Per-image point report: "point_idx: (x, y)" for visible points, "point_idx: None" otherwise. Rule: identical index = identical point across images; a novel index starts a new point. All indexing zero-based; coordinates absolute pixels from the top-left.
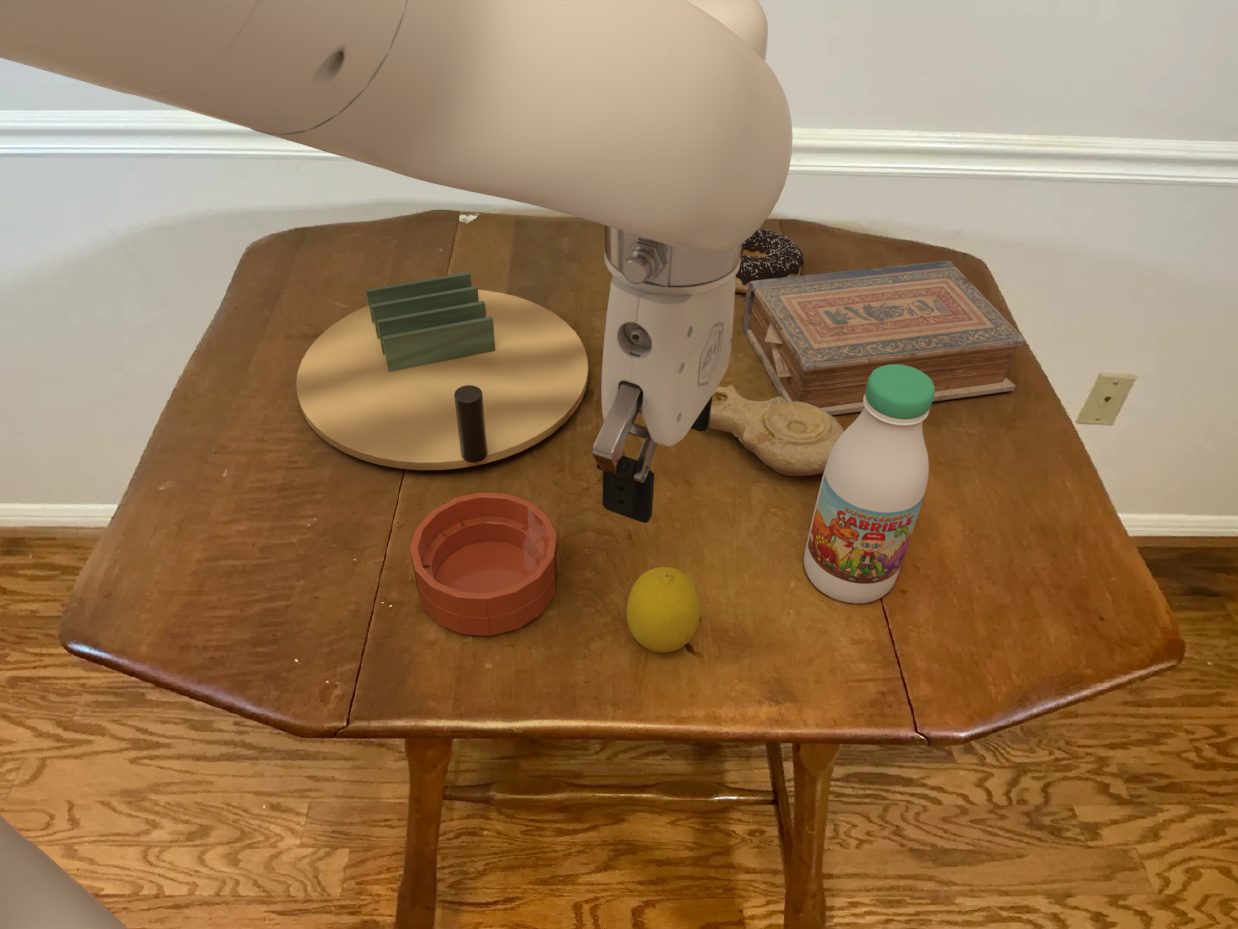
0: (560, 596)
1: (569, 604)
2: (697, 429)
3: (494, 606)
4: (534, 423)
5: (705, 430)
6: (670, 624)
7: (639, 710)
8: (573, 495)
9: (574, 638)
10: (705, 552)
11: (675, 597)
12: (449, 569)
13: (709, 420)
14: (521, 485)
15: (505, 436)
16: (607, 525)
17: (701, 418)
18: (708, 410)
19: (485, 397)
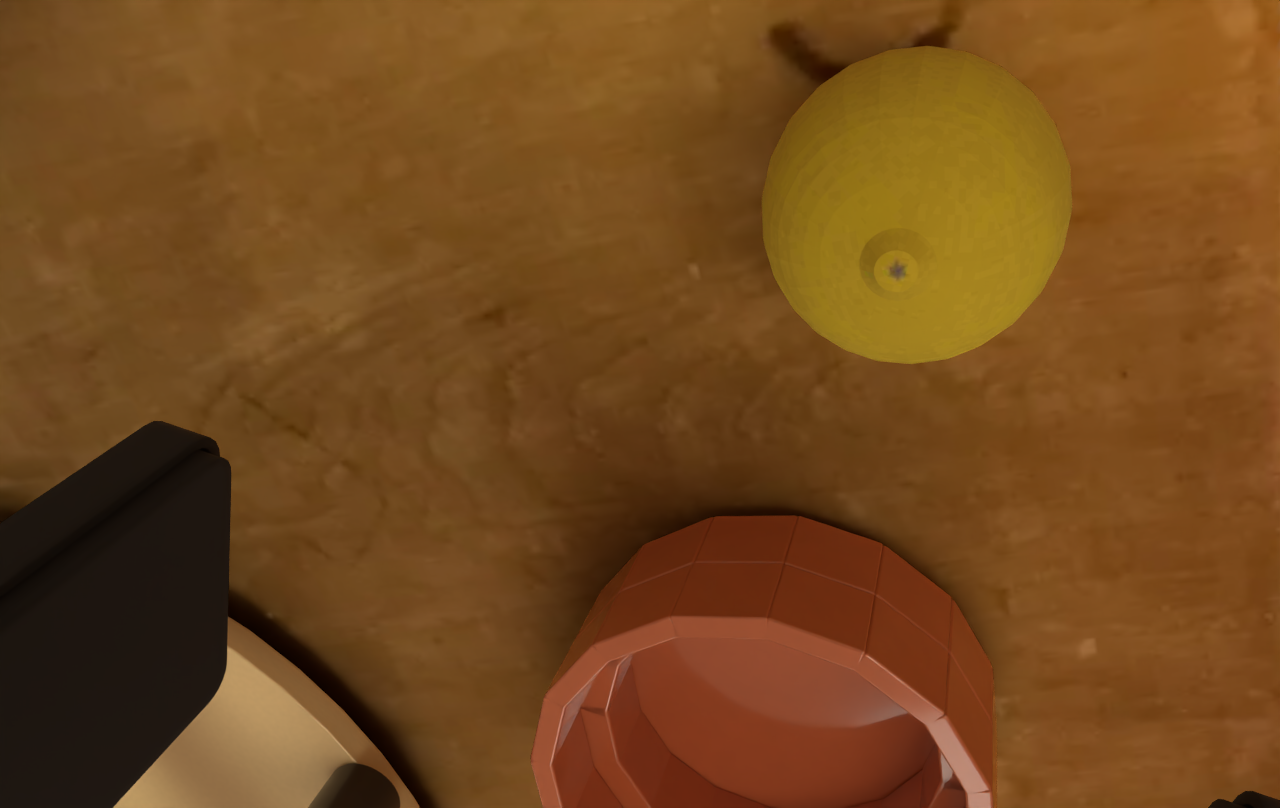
0: (786, 489)
1: (812, 461)
2: (224, 494)
3: (982, 739)
4: None
5: (209, 438)
6: (1059, 186)
7: (1236, 186)
8: (388, 499)
9: (947, 430)
10: (479, 50)
11: (977, 204)
12: (766, 781)
13: (121, 446)
14: (404, 635)
15: (271, 725)
16: (469, 389)
17: (149, 538)
18: (65, 537)
19: (157, 783)
